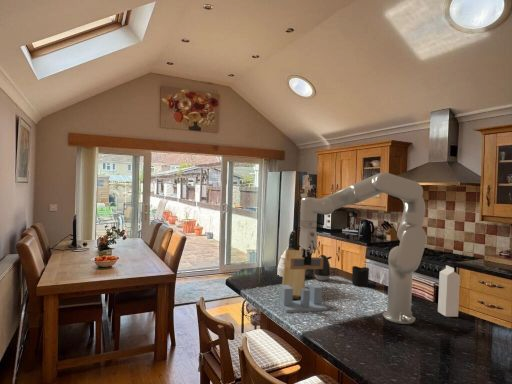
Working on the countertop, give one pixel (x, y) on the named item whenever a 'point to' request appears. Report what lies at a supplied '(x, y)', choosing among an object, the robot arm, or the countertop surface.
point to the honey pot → (281, 264)
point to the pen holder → (360, 276)
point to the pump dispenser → (326, 271)
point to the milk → (448, 292)
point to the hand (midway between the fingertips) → (306, 264)
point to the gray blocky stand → (302, 299)
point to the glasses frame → (299, 263)
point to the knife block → (294, 276)
